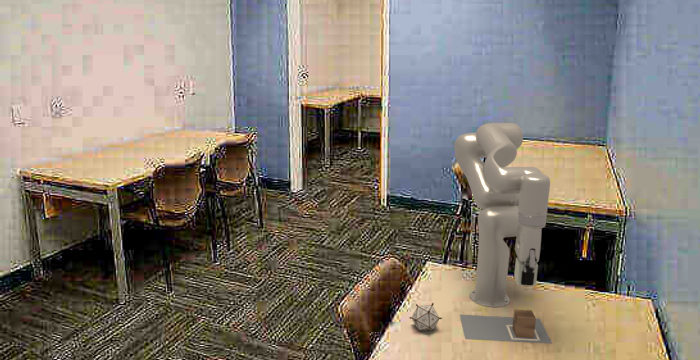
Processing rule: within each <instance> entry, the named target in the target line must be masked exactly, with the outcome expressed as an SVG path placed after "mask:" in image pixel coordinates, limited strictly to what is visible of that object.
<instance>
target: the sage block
mask: <svg viewBox="0 0 700 360" xmlns="http://www.w3.org/2000/svg"><path fill="white" fill-rule="evenodd" d="M526 261H529V259H527V260H526ZM514 265H515V266H514V280H515V282H516V285H517V286H523V285H522V284H521V278H522V271H524V261H523V262H521V261H520V260H519V258H518V256H517V257H515V264H514ZM527 265H529V263H527ZM538 269H539V265H538V262H537V263H535V273H534V282H533V285H532V287H535V286H537V278H538V271H539V270H538Z"/></svg>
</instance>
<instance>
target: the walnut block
mask: <svg viewBox="0 0 700 360" xmlns="http://www.w3.org/2000/svg"><path fill="white" fill-rule="evenodd" d="M512 316H513V326H512V329H513V331H514V334H515V336H516V337H525V338H534V332H535V323H536V315H535V314H534V311H533V310H531V309H530V310H529V309H514V310H513V315H512Z"/></svg>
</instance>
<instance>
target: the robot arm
mask: <svg viewBox="0 0 700 360" xmlns="http://www.w3.org/2000/svg"><path fill="white" fill-rule="evenodd" d="M523 141H524V133H523V130H522V128H521V127H520V126H519V124H517V123H515V122H488V123H484V124H482V125H480V126H479V127H478V128H477V129H476V132H466V133H463V134H460V135H458V137H457V138H456V139H455V142H454V157H455V159H456V162H457V164H458V167H459V169H460V170H461V171H462V173H463V175H464V176H465V177H466V180H467V182H468V185H469V188H470V191H471V194H472V198H473V200H474V202H475V204H476V206H477V207H478V208H479V209H481V210H480V212H479V213H478V217H477V225H478V226H477V227H478V251H477V252H478V253H477V254H478V255H477V264H476V275H475V287H474V288H475V289H474V290H472V291H470V293H469V299H470V300H471V301H472V302H474V303H475V304H477V305H479V306H482V307H485V308H486V307H487V308H492V309H493V308H504V307H506V306H508V305H509V304H510V301H511V299H510V297H509V295H508V294H506V292H507V285H508V284H507V283H508V282H507V281H508V274H509V273H508V272H509V263H510V262H509V261H510V248H509V246H508V245H507V242H505V240H504V239H505V238H511V237H516V239H515V244H514V245H515V246H514V250H515V251H514V252H515V254H516V256H517V257H518V258H519V260H520V261H521V262H523V261H524V271H522V278H521V284H522V285H521V286H530V287H531V286H532V285H533V282H534V273H535V263H537V264H538V262H539V261H540V254H541V243H542V229H543V228H545V227H546V223H547V216H548V205H549V196H550V190H551V189H550V187H551V179H550V177H549V176H548V175H546V174H543V173H542V172H541V170H540V169H539V168H537V167H535V166H509V165H511V164H512V163H513V162H514V161H515V159H516V157H517V154H518V151H517V150H518V149H519V148H521V146H522V144H523ZM480 158H481V159H482V158H486V159H485V161H483V160H481V159H480ZM527 259H529V261H526V260H527ZM527 263H529V265H527ZM532 287H533V286H532Z"/></svg>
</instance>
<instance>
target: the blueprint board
mask: <svg viewBox="0 0 700 360" xmlns="http://www.w3.org/2000/svg"><path fill="white" fill-rule="evenodd" d="M459 317H460V322H461V327H462V331H463V335H464V339H465V340H472V341H473V340H474V341H475V340H477V341H491V342H492V341H493V342H494V341H495V342H514V343H516V342H517V343H530V344H531V343H532V344H533V343H535V344H549V345H550V344H553V342H552V340H551V338H550V336H549V333H548V332H547V330H546V328H545V326H544V324H543V322H542V320H541V318H536V317H535V318H536V323H535V332H534V338H525V337H516V336H515V334H514V331H513V329H512V326H513V317H512V316H494V315H476V314H475V315H474V314H459Z"/></svg>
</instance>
